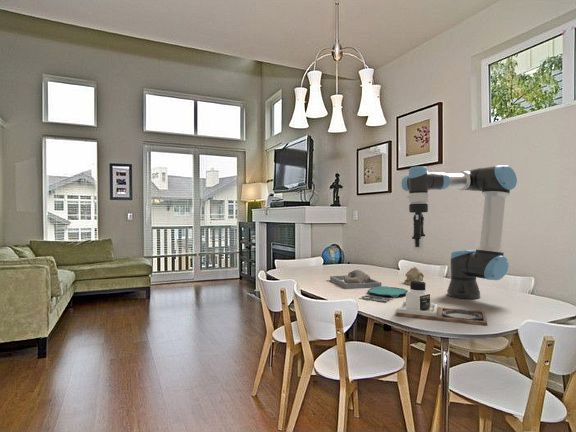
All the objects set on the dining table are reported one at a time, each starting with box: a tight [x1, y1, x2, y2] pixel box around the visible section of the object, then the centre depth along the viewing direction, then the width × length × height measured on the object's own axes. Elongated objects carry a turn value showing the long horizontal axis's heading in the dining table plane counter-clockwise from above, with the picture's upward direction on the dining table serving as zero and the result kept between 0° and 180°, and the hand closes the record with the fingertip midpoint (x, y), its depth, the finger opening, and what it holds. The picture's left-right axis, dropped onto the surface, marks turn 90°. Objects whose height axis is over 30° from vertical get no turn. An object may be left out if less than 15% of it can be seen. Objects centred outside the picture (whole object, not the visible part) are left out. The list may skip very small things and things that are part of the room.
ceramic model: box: [404, 267, 427, 286], centre depth 222 cm, size 14×11×10 cm
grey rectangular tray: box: [329, 274, 382, 290], centre depth 225 cm, size 21×28×2 cm
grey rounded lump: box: [343, 269, 371, 284], centre depth 222 cm, size 16×9×15 cm
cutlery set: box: [358, 285, 409, 304], centre depth 192 cm, size 20×30×2 cm, turn 141°
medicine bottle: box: [405, 281, 431, 311], centre depth 159 cm, size 7×7×12 cm
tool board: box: [395, 300, 488, 326], centre depth 155 cm, size 33×18×2 cm, turn 66°
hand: (419, 253), depth 160 cm, fingers open, 13 cm apart
